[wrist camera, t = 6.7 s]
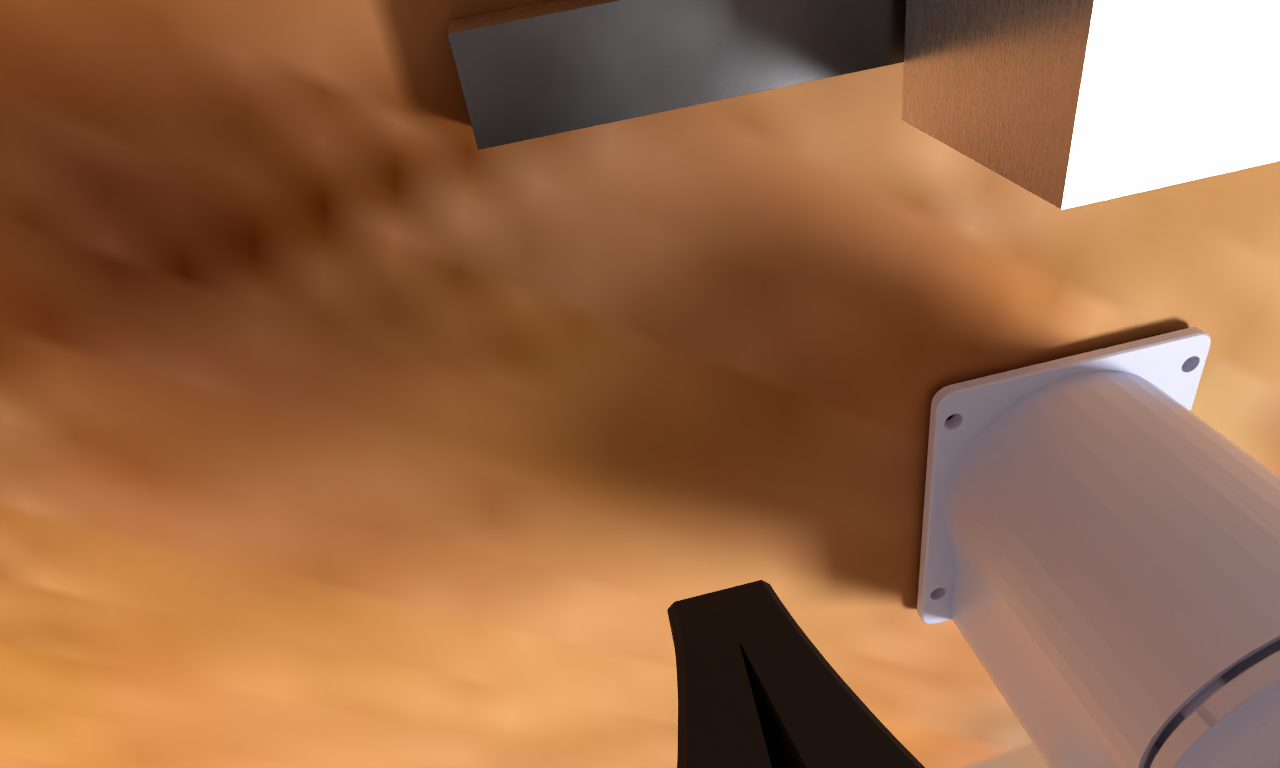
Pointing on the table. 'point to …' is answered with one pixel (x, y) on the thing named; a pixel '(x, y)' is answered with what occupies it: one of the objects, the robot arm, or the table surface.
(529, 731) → the table surface
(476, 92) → the bar
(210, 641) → the table surface
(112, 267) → the table surface
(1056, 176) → the sliding divider leg
